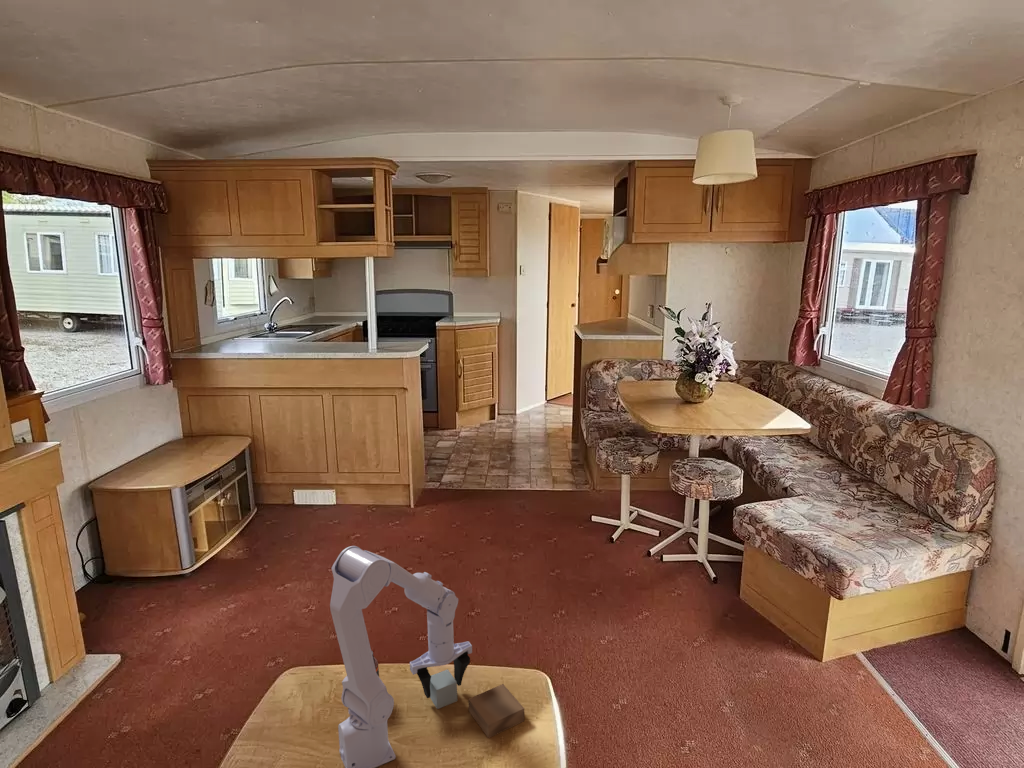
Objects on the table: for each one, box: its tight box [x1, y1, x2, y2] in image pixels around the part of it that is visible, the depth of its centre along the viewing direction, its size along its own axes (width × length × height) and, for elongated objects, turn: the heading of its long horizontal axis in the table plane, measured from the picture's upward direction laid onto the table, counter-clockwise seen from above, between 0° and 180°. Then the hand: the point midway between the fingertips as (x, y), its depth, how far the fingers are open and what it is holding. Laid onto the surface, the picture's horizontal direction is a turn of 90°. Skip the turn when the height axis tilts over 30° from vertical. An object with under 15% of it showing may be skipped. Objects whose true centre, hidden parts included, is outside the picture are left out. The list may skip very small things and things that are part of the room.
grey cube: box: [429, 669, 458, 710], centre depth 135 cm, size 5×5×5 cm
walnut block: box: [467, 683, 525, 739], centre depth 129 cm, size 9×9×4 cm
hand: (442, 689), depth 135 cm, fingers open, 7 cm apart
